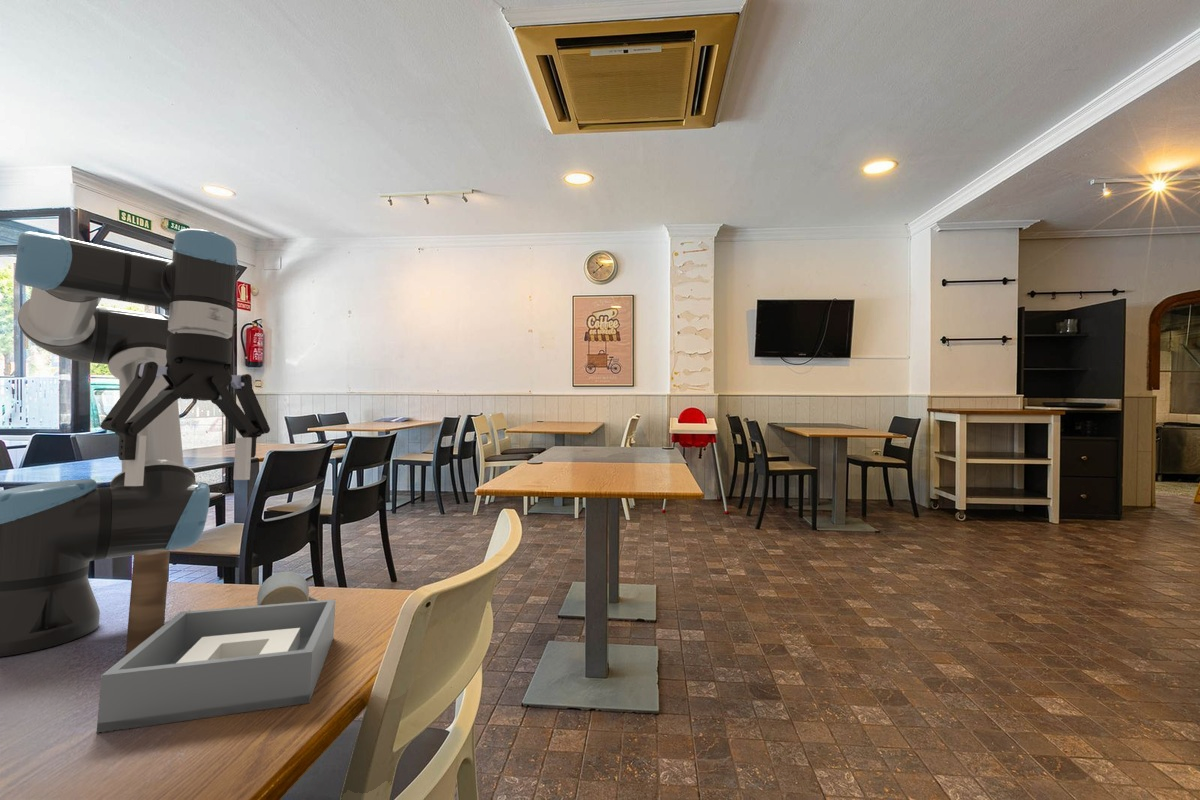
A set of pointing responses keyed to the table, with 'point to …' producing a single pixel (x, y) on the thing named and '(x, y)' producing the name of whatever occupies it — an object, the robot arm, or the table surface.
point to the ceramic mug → (284, 589)
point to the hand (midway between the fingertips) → (192, 482)
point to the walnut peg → (147, 596)
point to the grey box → (219, 665)
